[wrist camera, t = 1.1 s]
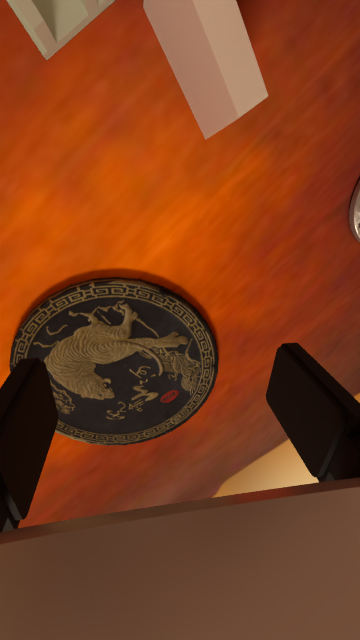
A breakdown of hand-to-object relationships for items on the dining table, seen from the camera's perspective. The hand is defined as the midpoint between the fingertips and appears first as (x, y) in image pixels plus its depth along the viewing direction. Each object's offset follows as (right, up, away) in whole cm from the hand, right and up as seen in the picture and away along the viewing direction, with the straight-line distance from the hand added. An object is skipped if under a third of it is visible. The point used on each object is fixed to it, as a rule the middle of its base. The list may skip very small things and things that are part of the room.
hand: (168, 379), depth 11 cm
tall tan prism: (+1, +26, +14) cm, 30 cm away
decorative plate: (-9, -5, +29) cm, 31 cm away
